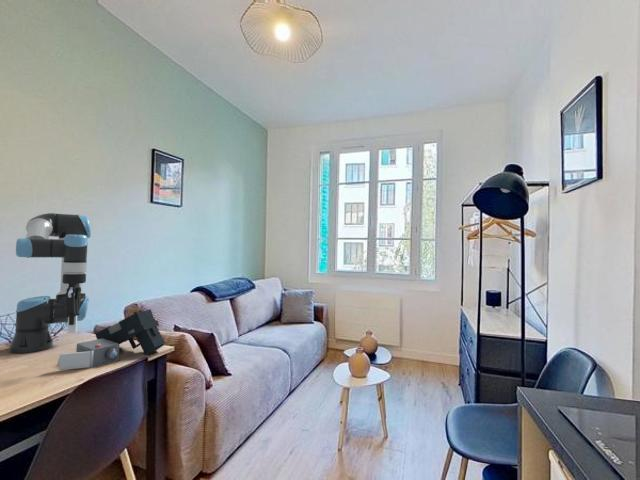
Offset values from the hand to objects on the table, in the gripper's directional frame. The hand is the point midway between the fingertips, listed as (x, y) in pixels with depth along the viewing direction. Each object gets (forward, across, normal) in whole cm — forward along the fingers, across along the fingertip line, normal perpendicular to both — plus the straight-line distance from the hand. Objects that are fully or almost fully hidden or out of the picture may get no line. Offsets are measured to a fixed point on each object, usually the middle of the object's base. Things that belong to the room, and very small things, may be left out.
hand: (71, 332), depth 131 cm
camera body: (+14, -5, +9) cm, 17 cm away
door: (+14, +2, +2) cm, 14 cm away
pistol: (+14, -17, +19) cm, 29 cm away
